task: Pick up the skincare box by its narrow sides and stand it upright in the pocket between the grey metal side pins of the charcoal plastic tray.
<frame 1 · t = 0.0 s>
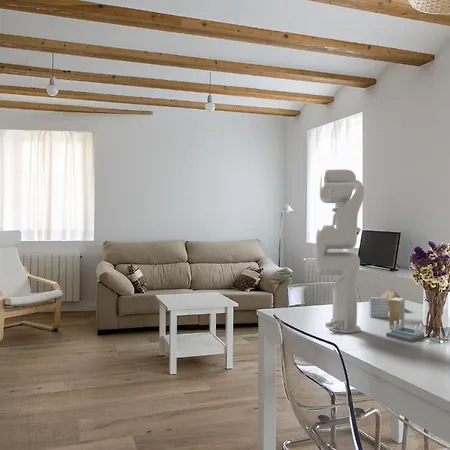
hand: (342, 245, 237), 31 cm above the table, tool pointing down, fingers open, 9 cm apart
pin tray: (408, 336, 184), on the table
medicine box: (378, 317, 218), on the table
ceramic model: (391, 309, 236), on the table
skincare box: (396, 328, 197), on the table
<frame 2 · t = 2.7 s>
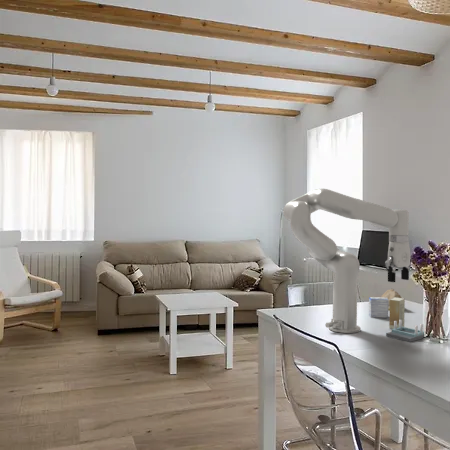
hand: (398, 280, 197), 20 cm above the table, tool pointing down, fingers open, 9 cm apart
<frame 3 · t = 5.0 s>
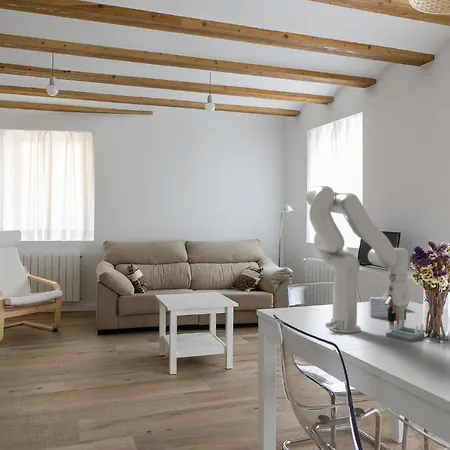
hand: (396, 320, 197), 3 cm above the table, tool pointing down, fingers closed on skincare box, 6 cm apart
skincare box: (396, 328, 197), on the table, touching gripper
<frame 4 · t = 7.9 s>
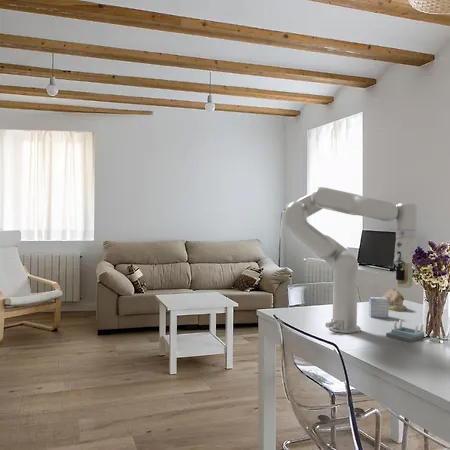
hand: (405, 278, 188), 22 cm above the table, tool pointing down, fingers closed on skincare box, 6 cm apart
skincare box: (404, 287, 188), point 18 cm above the table, touching gripper
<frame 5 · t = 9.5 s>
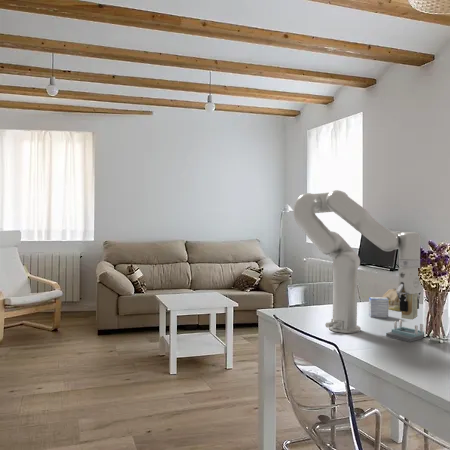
hand: (409, 309, 184), 10 cm above the table, tool pointing down, fingers closed on skincare box, 6 cm apart
skincare box: (409, 318, 184), point 7 cm above the table, touching gripper
when the fingers open (6 cm above the table, at t = 10.9 s): skincare box stays where it is, resting on pin tray.
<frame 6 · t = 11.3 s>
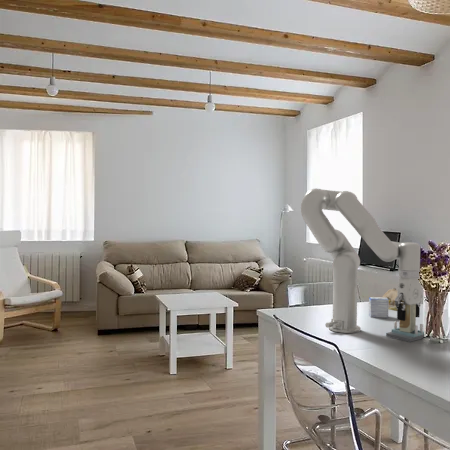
hand: (408, 318, 184), 7 cm above the table, tool pointing down, fingers open, 9 cm apart
skincare box: (407, 331, 184), point 2 cm above the table, touching pin tray
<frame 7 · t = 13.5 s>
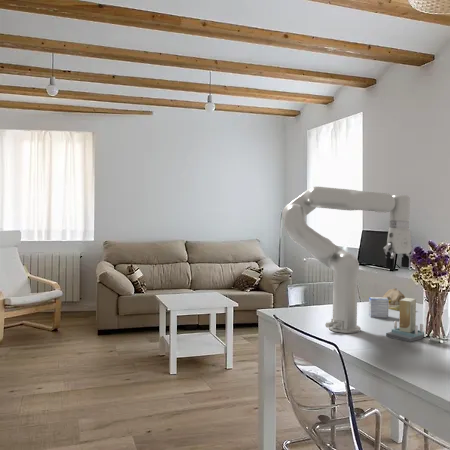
hand: (397, 267, 193), 26 cm above the table, tool pointing down, fingers open, 9 cm apart
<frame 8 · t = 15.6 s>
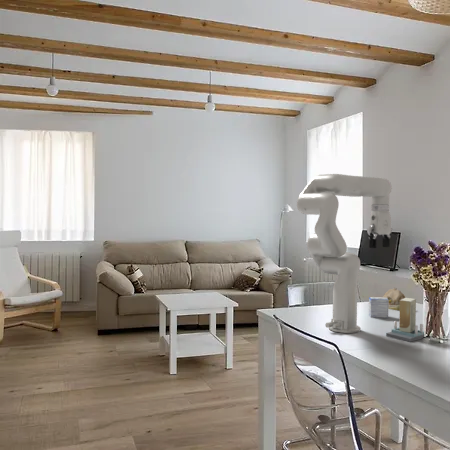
hand: (379, 247, 210), 32 cm above the table, tool pointing down, fingers open, 9 cm apart
at the end: skincare box 0.4 cm off-centre on the pin tray, point 2.0 cm above the pin tray's base; skincare box tilted 0°; the gripper is holding nothing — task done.
